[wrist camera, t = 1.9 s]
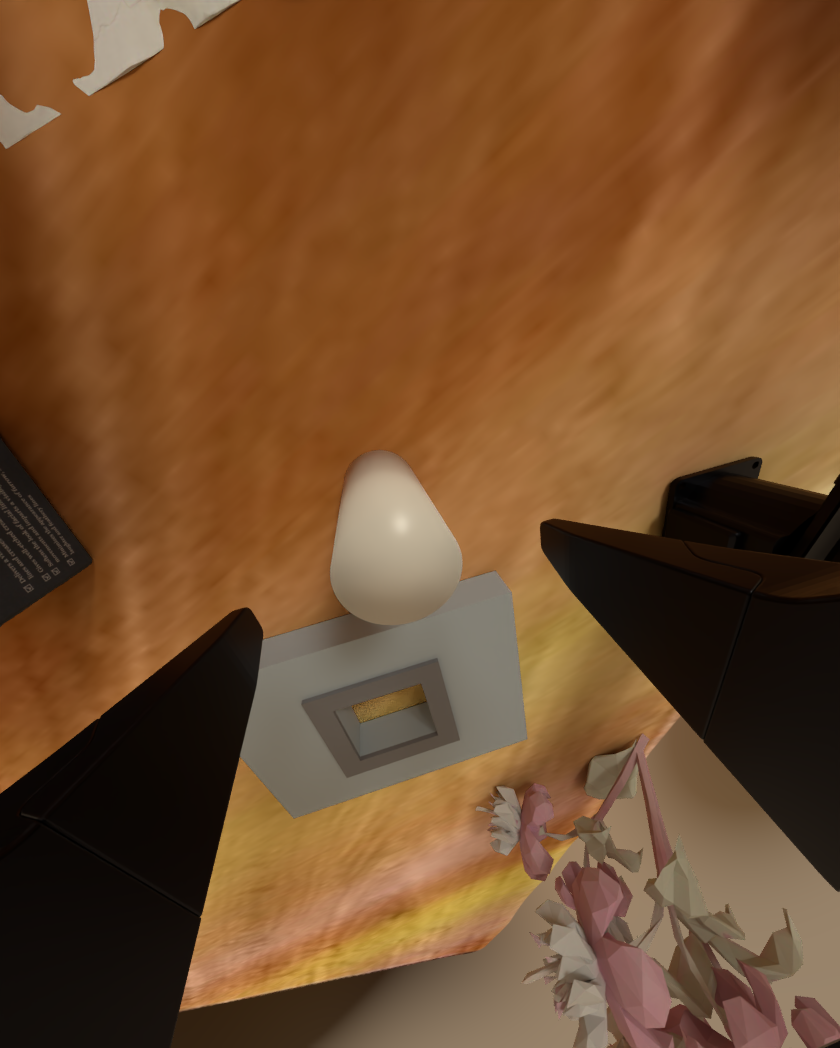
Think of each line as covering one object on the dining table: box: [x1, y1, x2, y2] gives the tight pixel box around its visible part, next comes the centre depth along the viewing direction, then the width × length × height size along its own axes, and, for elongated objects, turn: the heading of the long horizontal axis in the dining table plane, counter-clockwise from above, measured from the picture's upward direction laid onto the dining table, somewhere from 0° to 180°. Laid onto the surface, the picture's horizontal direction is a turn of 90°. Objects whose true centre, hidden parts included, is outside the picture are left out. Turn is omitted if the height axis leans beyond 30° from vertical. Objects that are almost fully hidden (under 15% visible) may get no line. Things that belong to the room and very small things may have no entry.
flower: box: [475, 733, 840, 1048], centre depth 26 cm, size 20×22×25 cm
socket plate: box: [240, 571, 527, 818], centre depth 23 cm, size 20×16×3 cm
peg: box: [330, 450, 462, 625], centre depth 13 cm, size 4×4×9 cm
